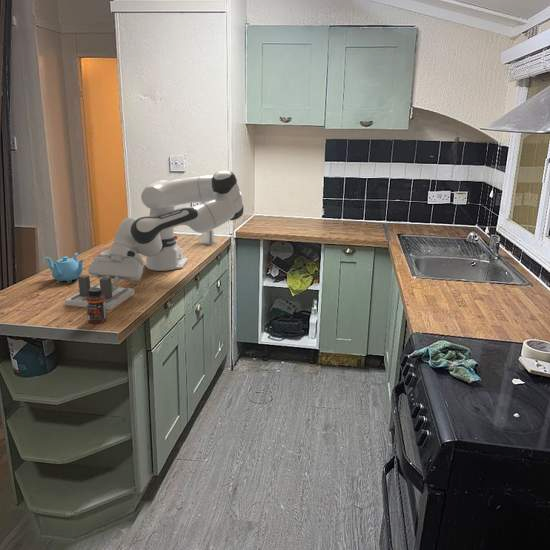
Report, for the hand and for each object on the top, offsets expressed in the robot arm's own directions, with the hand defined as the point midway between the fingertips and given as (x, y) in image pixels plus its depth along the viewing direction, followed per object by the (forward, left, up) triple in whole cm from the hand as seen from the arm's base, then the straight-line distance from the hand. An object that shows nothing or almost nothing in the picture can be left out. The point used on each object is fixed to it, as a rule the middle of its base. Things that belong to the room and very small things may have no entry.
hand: (109, 288), depth 185 cm
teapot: (-19, -31, -6) cm, 36 cm away
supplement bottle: (+17, +5, -6) cm, 19 cm away
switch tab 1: (+1, -9, -3) cm, 10 cm away
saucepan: (-49, -24, -6) cm, 55 cm away
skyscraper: (-97, +3, -6) cm, 97 cm away
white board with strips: (-2, -5, -5) cm, 7 cm away
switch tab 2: (+2, 0, -3) cm, 4 cm away
